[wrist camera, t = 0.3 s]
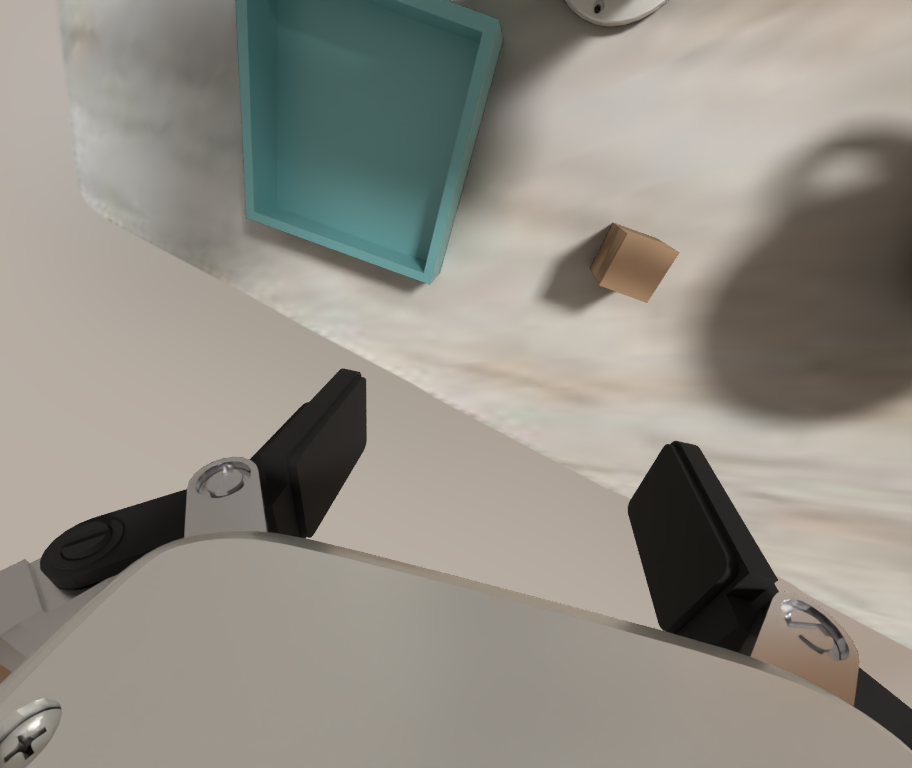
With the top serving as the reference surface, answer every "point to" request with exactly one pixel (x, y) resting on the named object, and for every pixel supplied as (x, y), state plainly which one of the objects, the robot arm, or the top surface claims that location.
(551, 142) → the top surface
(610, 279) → the walnut block
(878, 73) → the top surface
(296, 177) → the bin
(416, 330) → the top surface
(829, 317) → the top surface
